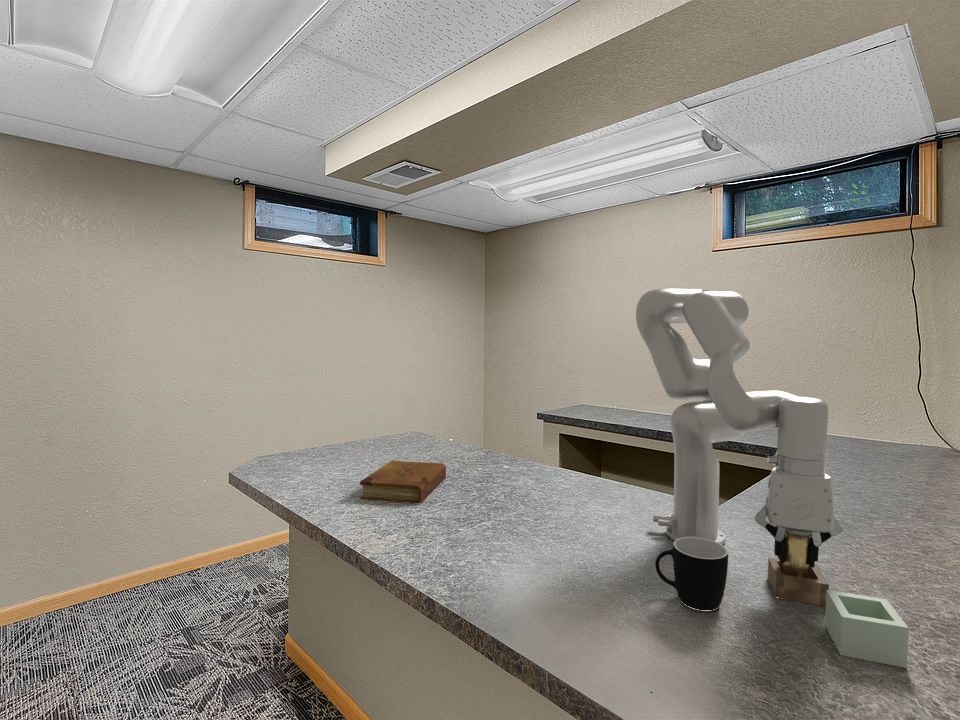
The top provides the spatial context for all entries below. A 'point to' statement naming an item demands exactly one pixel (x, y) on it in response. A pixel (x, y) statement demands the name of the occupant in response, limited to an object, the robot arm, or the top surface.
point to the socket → (866, 628)
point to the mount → (798, 584)
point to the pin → (796, 552)
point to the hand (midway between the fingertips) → (795, 560)
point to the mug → (697, 571)
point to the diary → (403, 481)
